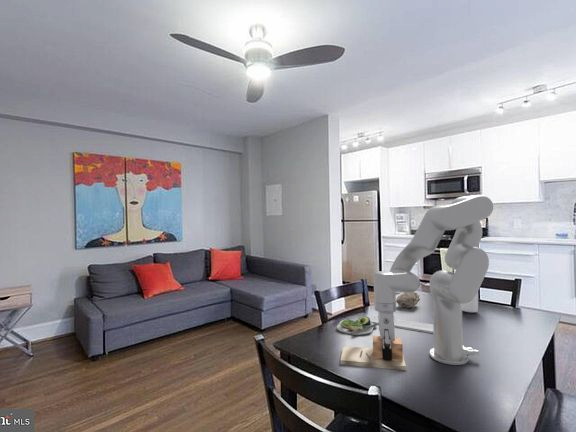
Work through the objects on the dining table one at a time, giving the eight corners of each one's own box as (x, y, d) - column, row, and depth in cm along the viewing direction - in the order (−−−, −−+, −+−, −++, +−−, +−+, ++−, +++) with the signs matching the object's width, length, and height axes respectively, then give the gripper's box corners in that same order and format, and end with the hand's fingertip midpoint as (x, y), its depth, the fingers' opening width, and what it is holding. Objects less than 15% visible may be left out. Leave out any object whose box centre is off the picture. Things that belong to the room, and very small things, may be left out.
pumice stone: (406, 302, 185) (405, 289, 185) (425, 306, 176) (425, 292, 176) (393, 307, 176) (393, 293, 176) (413, 312, 167) (412, 297, 167)
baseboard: (373, 316, 163) (366, 323, 152) (373, 311, 163) (366, 318, 152) (438, 326, 146) (434, 335, 136) (438, 320, 146) (434, 328, 136)
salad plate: (372, 341, 131) (372, 330, 131) (331, 335, 138) (331, 325, 138) (379, 325, 148) (378, 316, 148) (342, 321, 156) (342, 312, 156)
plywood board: (402, 354, 116) (402, 350, 116) (406, 370, 105) (405, 365, 105) (343, 350, 122) (343, 346, 122) (340, 364, 110) (340, 359, 110)
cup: (456, 311, 165) (455, 284, 165) (466, 309, 169) (466, 283, 169) (471, 315, 158) (470, 288, 158) (482, 313, 161) (481, 286, 161)
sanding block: (401, 353, 114) (400, 337, 114) (402, 361, 108) (402, 344, 108) (373, 351, 116) (372, 335, 116) (373, 358, 110) (372, 341, 110)
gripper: (398, 313, 103) (400, 367, 103) (394, 299, 120) (395, 346, 120) (374, 312, 105) (376, 365, 105) (374, 299, 121) (375, 344, 121)
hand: (386, 354), depth 112 cm, fingers closed on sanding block, 6 cm apart
